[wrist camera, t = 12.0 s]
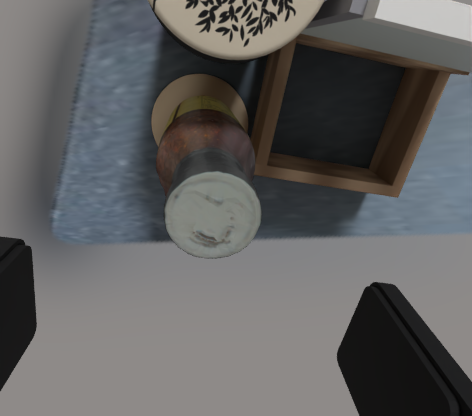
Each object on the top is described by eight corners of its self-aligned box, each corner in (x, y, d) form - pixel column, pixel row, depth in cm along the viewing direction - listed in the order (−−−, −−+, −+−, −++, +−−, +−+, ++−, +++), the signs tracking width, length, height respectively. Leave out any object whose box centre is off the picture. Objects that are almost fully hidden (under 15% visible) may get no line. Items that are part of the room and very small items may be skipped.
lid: (421, 59, 31) (720, 72, 13) (417, 70, 32) (700, 98, 14) (266, 22, 29) (370, -22, 11) (263, 35, 29) (359, 13, 11)
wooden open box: (419, 58, 31) (474, 60, 25) (373, 179, 36) (409, 206, 30) (274, 24, 29) (294, 18, 23) (246, 158, 34) (256, 182, 27)
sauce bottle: (197, 171, 33) (190, 313, 15) (155, 120, 31) (87, 218, 13) (251, 132, 32) (311, 237, 14) (211, 75, 30) (224, 115, 12)
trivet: (256, 84, 31) (257, 85, 30) (237, 175, 34) (238, 177, 34) (157, 64, 29) (156, 64, 29) (148, 161, 33) (147, 163, 33)
